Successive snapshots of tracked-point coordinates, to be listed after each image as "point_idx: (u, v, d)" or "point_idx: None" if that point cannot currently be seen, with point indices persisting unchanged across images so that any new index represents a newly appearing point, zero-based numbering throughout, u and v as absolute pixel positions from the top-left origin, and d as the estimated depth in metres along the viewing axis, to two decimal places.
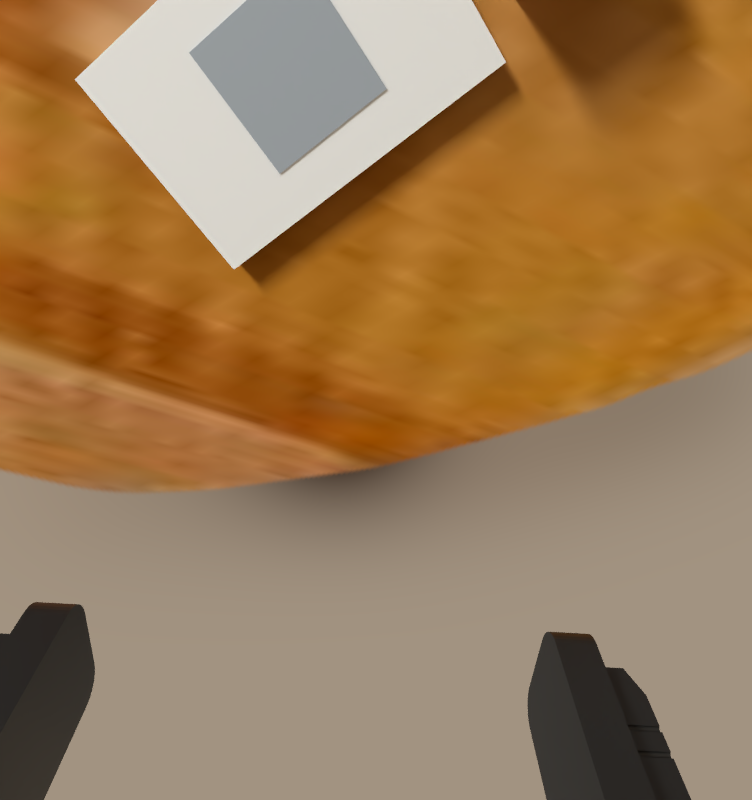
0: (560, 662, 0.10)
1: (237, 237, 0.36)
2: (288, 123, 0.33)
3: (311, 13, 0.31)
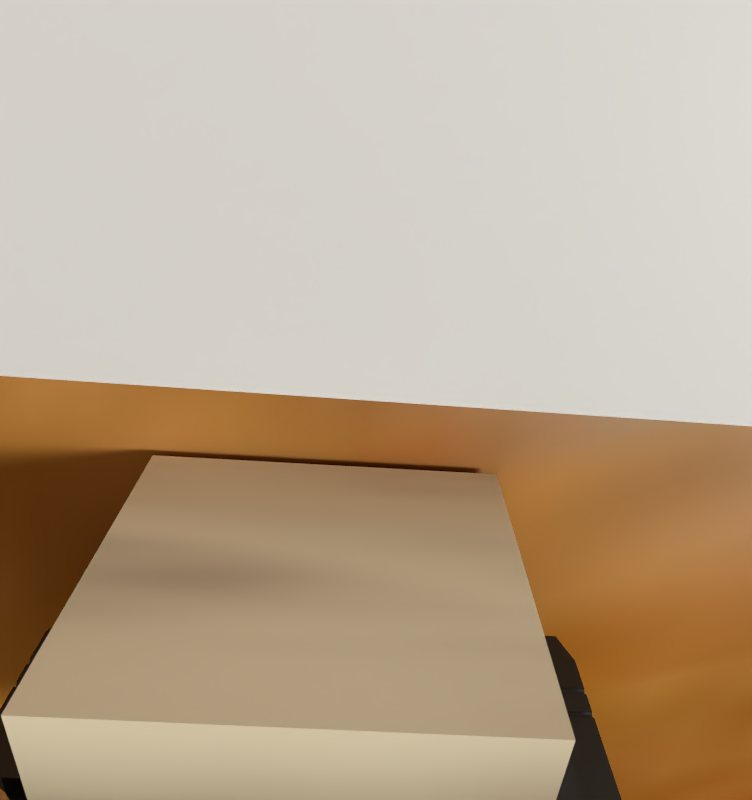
0: None
1: None
2: None
3: None
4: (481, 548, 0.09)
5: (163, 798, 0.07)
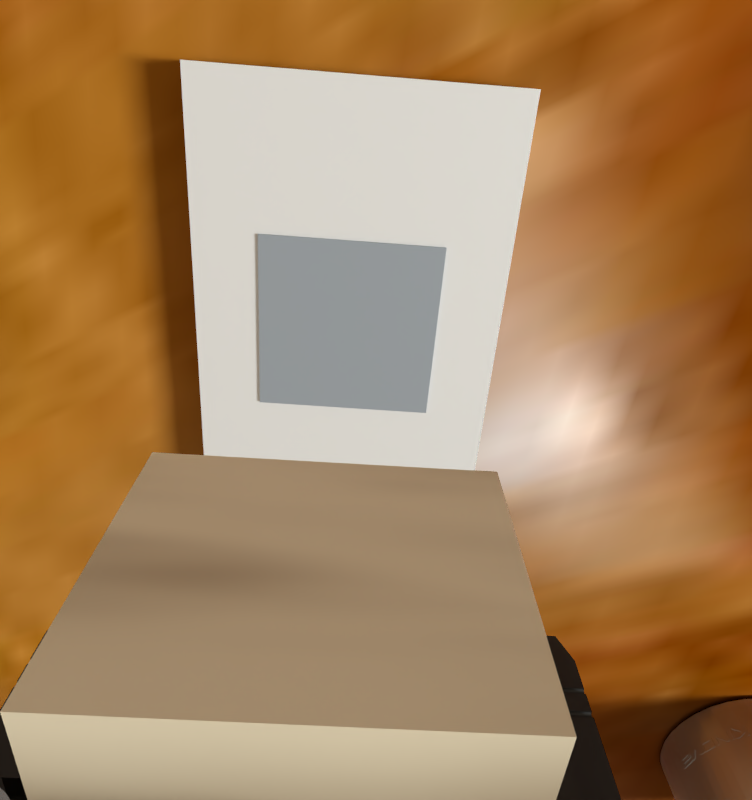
0: None
1: (220, 108, 0.22)
2: (301, 288, 0.24)
3: (374, 387, 0.26)
4: (482, 545, 0.09)
5: (163, 794, 0.07)
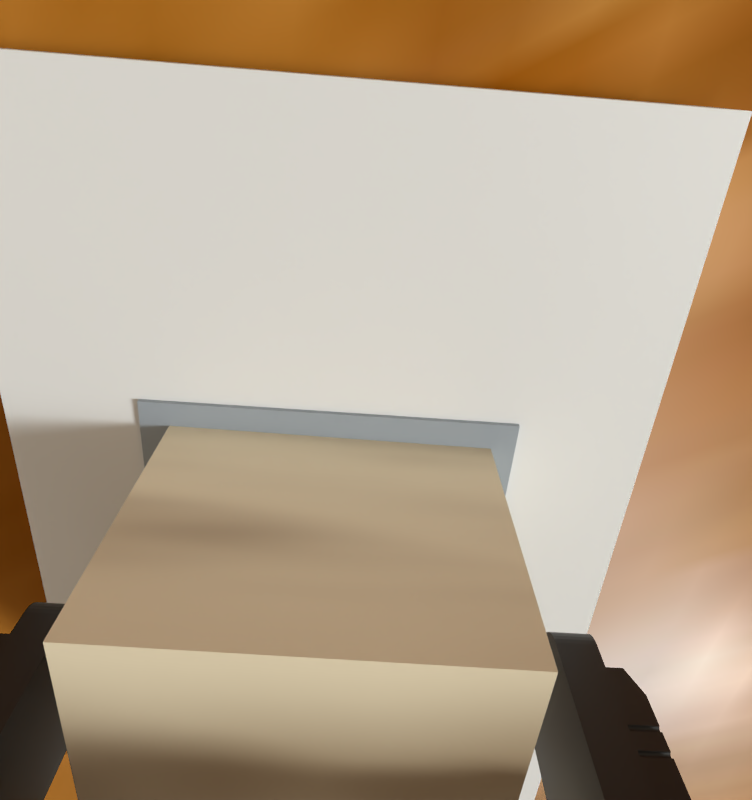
0: (560, 662, 0.10)
1: (30, 153, 0.10)
2: None
3: None
4: (475, 511, 0.10)
5: (185, 724, 0.08)
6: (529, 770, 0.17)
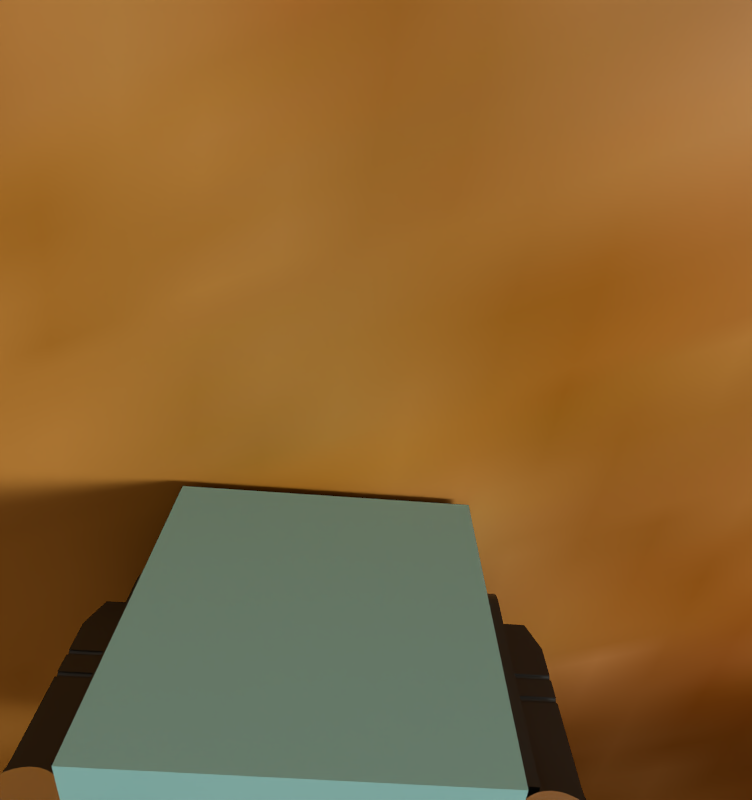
0: None
1: None
2: None
3: None
4: None
5: None
6: None
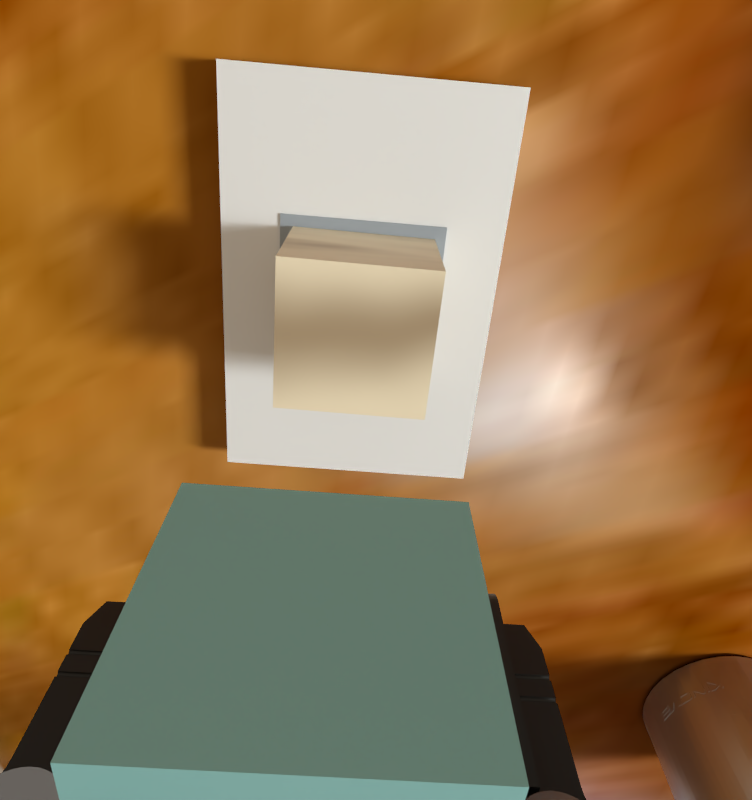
0: None
1: (250, 102, 0.25)
2: None
3: None
4: (424, 249, 0.25)
5: (317, 296, 0.23)
6: (462, 440, 0.31)
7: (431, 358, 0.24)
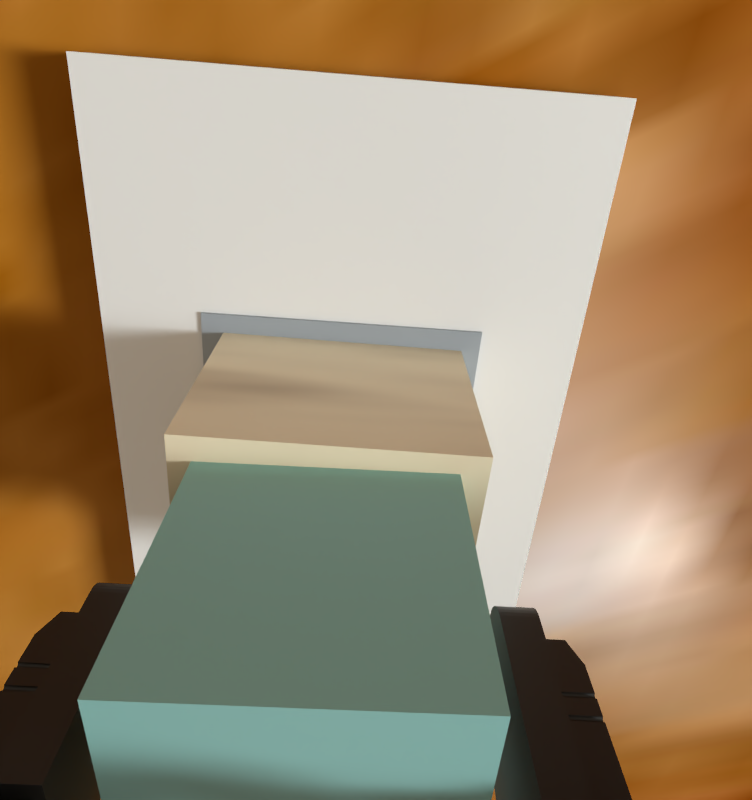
0: (502, 633, 0.10)
1: (134, 128, 0.14)
2: None
3: None
4: (447, 383, 0.14)
5: None
6: None
7: None
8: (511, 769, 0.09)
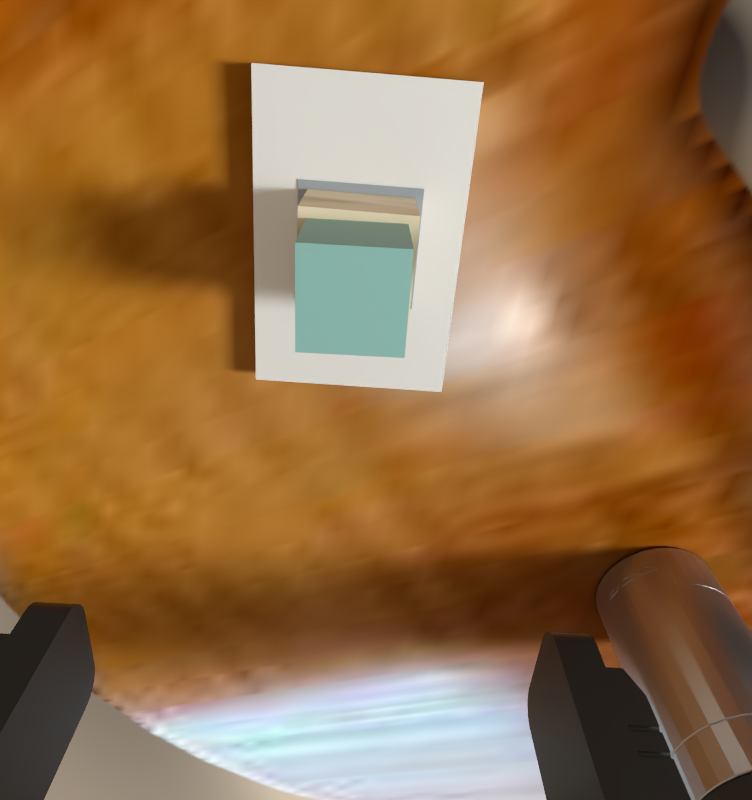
0: (560, 662, 0.10)
1: (276, 94, 0.33)
2: None
3: None
4: (406, 203, 0.34)
5: None
6: (439, 360, 0.40)
7: (411, 282, 0.33)
8: None
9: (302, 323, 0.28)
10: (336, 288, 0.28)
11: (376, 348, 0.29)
